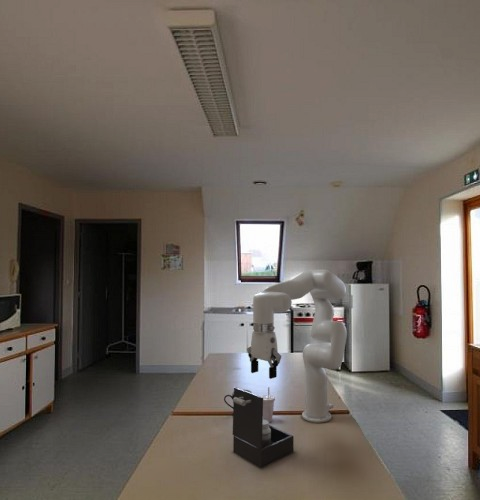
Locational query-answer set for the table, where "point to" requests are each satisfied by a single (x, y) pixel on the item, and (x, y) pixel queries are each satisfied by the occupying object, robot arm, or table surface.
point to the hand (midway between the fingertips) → (263, 375)
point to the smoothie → (268, 406)
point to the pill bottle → (266, 434)
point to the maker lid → (248, 417)
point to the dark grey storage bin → (265, 448)
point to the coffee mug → (233, 397)
